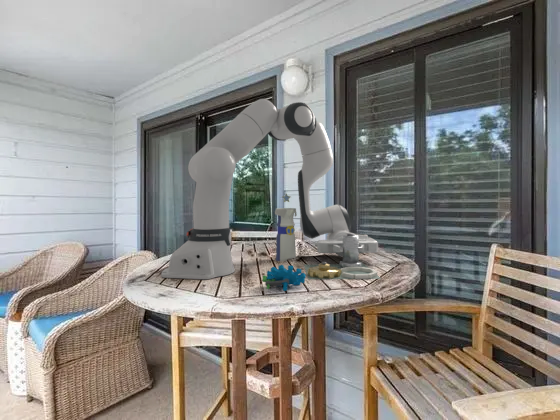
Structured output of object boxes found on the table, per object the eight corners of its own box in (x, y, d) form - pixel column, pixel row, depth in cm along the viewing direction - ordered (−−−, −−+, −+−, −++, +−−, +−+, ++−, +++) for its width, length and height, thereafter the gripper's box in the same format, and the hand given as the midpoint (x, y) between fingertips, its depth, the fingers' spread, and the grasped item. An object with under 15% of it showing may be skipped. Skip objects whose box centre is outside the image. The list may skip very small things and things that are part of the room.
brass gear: (308, 278, 91) (308, 265, 91) (306, 270, 101) (306, 259, 101) (343, 278, 91) (343, 265, 91) (337, 270, 101) (337, 258, 101)
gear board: (308, 283, 91) (308, 279, 91) (303, 268, 110) (303, 264, 110) (381, 282, 91) (381, 278, 91) (364, 267, 110) (364, 263, 110)
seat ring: (343, 278, 91) (343, 275, 91) (337, 270, 101) (337, 267, 101) (380, 278, 91) (380, 274, 91) (370, 269, 101) (370, 266, 101)
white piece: (302, 260, 123) (301, 193, 122) (282, 262, 119) (281, 193, 118) (290, 256, 130) (289, 193, 129) (271, 259, 126) (270, 193, 125)
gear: (309, 282, 86) (300, 260, 79) (309, 302, 82) (299, 282, 75) (269, 285, 89) (257, 265, 82) (267, 305, 85) (254, 286, 78)
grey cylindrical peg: (341, 269, 102) (341, 235, 102) (337, 264, 109) (337, 232, 109) (364, 269, 102) (364, 235, 102) (359, 264, 109) (359, 232, 109)
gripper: (314, 235, 118) (318, 240, 104) (371, 234, 118) (383, 239, 104) (314, 252, 119) (318, 260, 105) (371, 252, 118) (383, 259, 105)
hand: (351, 250), depth 105 cm, fingers closed on grey cylindrical peg, 5 cm apart
